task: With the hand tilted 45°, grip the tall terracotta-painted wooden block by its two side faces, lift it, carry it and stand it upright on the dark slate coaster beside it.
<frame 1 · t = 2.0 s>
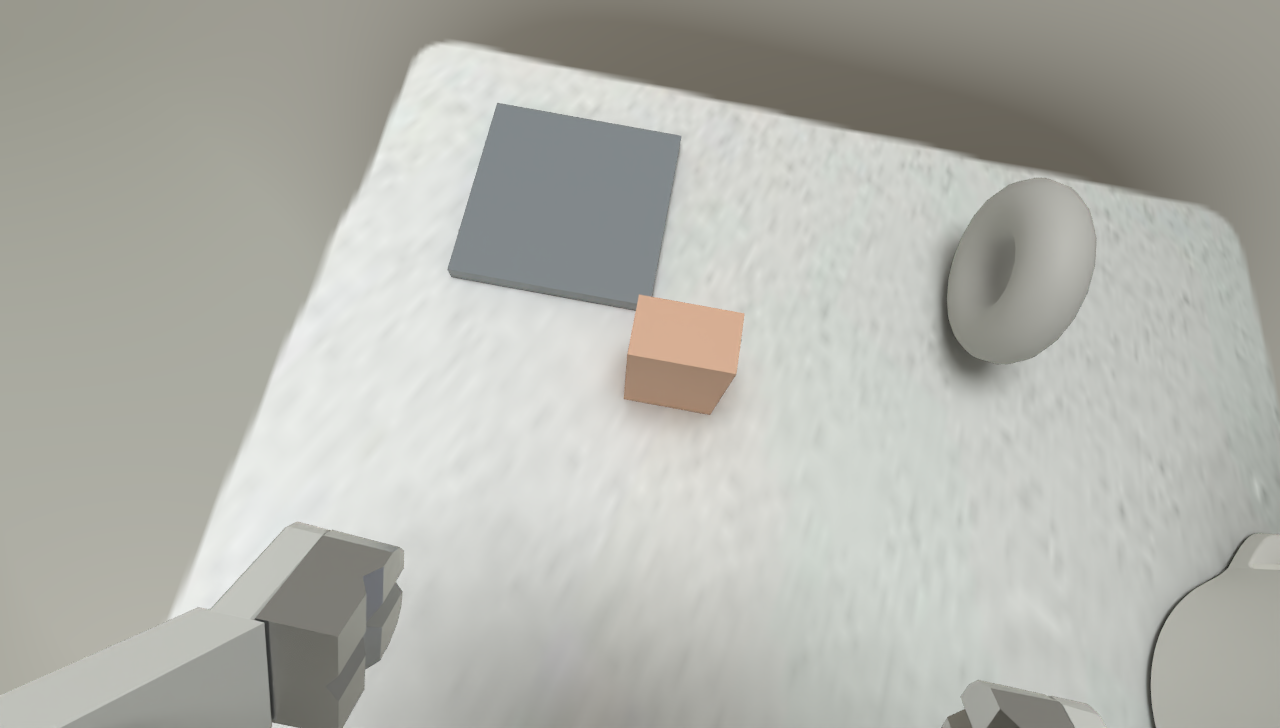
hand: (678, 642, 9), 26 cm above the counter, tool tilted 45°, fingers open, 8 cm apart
block: (670, 382, 37), on the counter
coaster: (570, 208, 40), on the counter
donut: (962, 310, 40), on the counter
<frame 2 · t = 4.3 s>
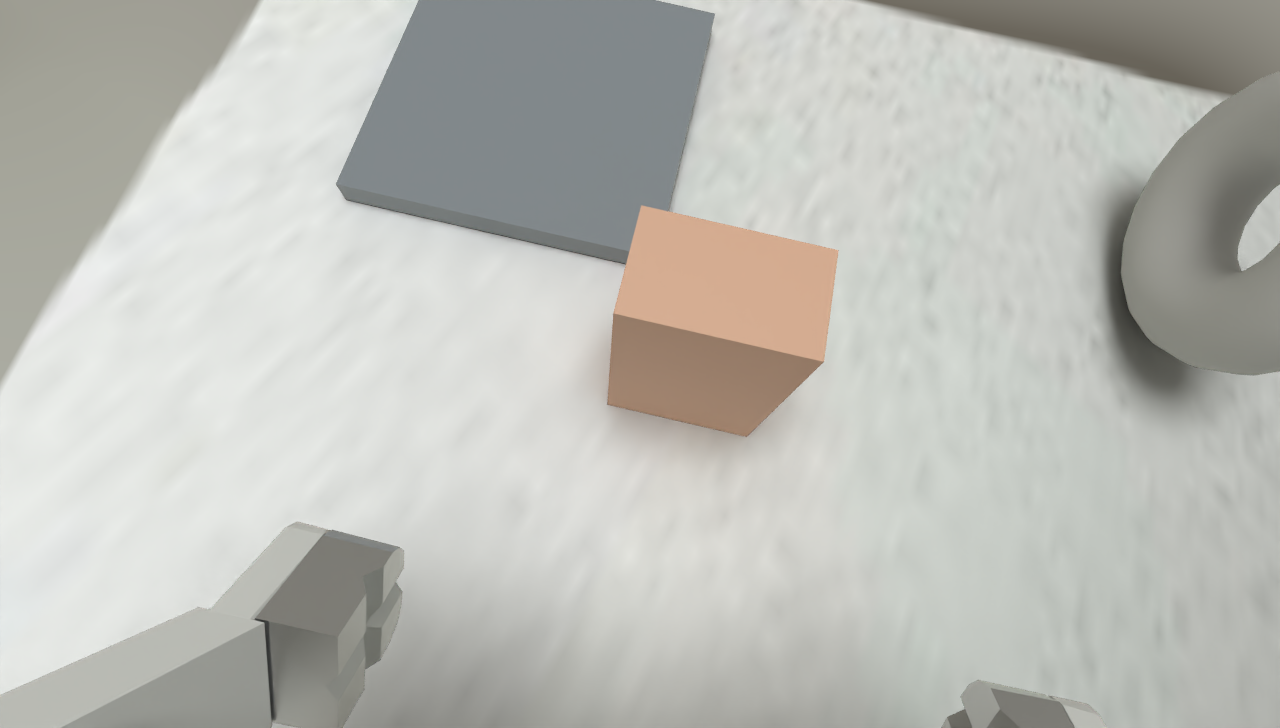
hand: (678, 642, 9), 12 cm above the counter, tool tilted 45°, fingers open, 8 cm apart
block: (685, 380, 23), on the counter
coaster: (541, 110, 26), on the counter
donut: (1138, 292, 26), on the counter
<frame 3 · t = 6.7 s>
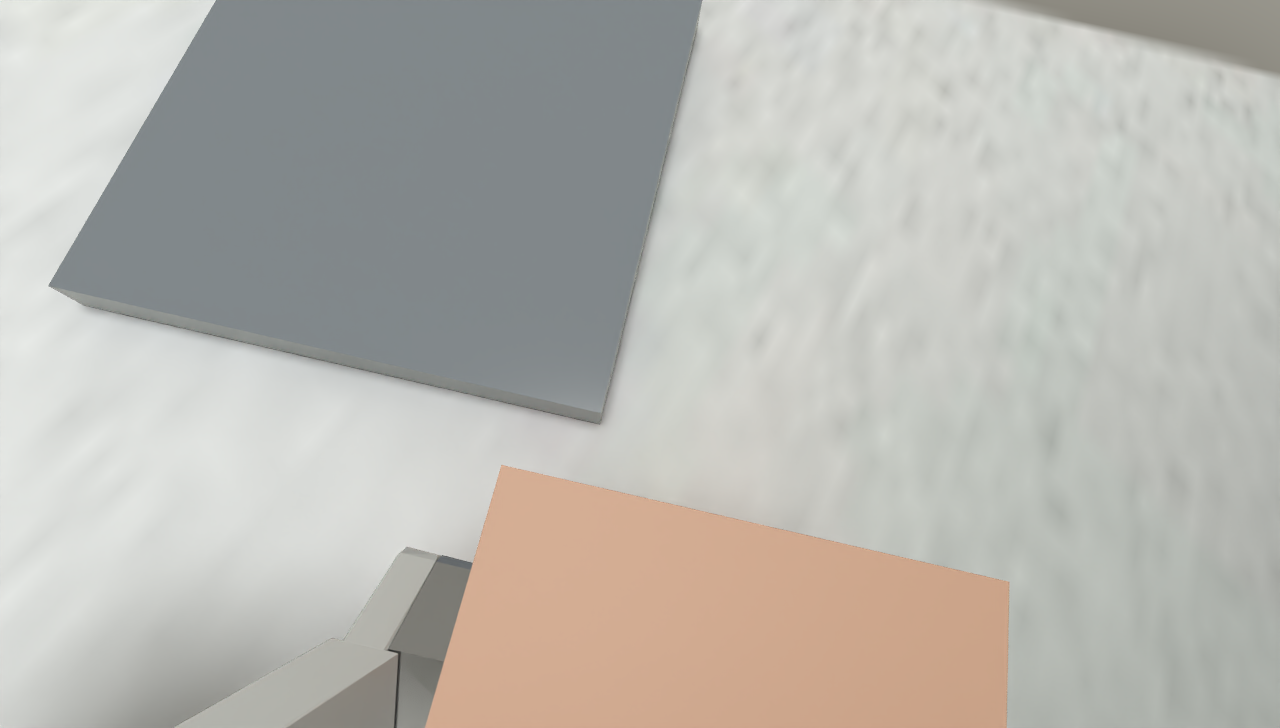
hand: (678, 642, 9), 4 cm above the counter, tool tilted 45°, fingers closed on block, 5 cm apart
block: (649, 630, 13), on the counter, touching gripper
coaster: (427, 150, 16), on the counter
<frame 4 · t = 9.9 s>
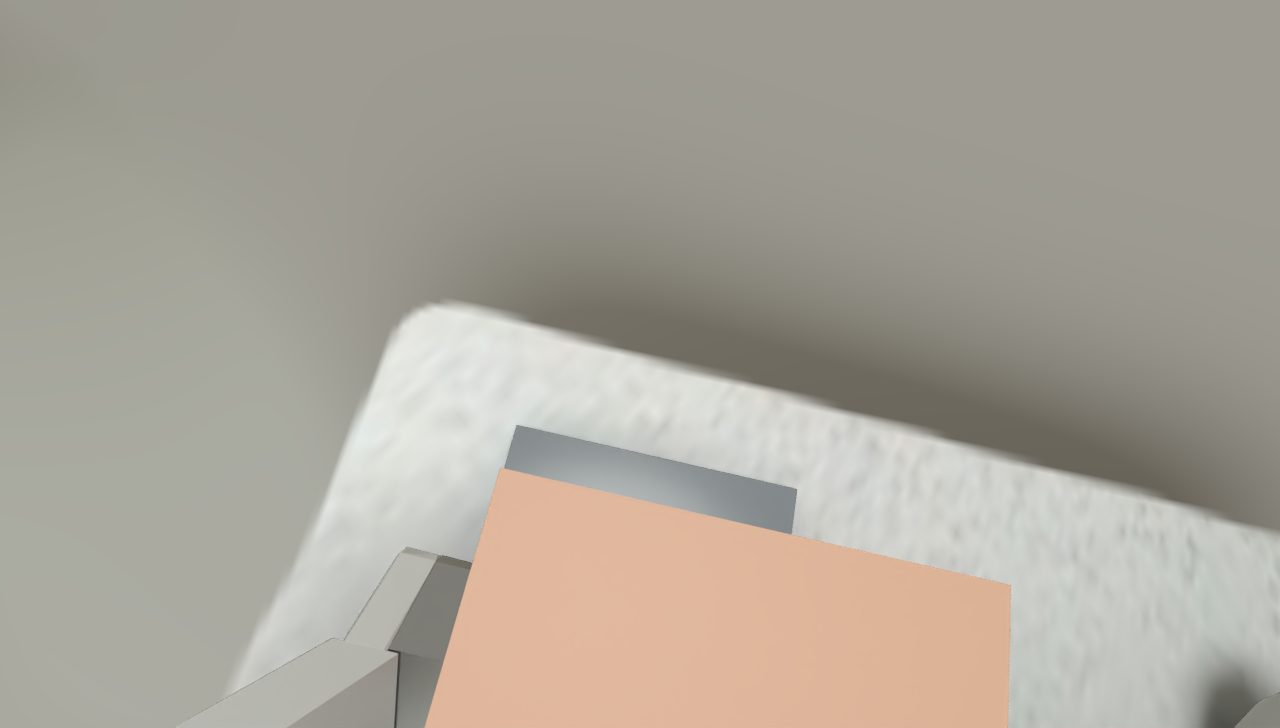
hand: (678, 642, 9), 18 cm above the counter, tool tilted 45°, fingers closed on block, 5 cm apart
block: (649, 632, 13), point 13 cm above the counter, touching gripper
coaster: (624, 606, 26), on the counter
when the fingers open (7 cm above the counter, at t = 13.2 s): block drops 1 cm, resting on coaster.
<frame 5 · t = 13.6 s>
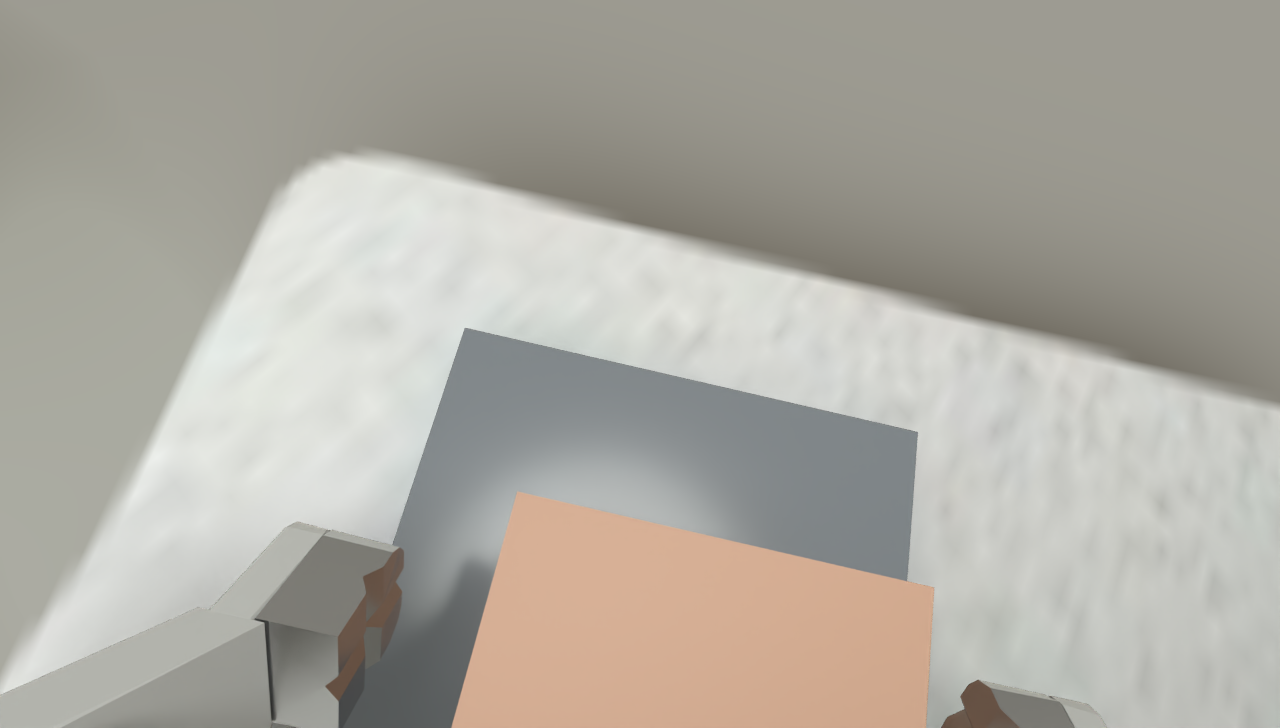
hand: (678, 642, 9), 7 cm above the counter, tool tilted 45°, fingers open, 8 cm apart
block: (643, 627, 15), point 1 cm above the counter, touching coaster
coaster: (639, 622, 16), on the counter
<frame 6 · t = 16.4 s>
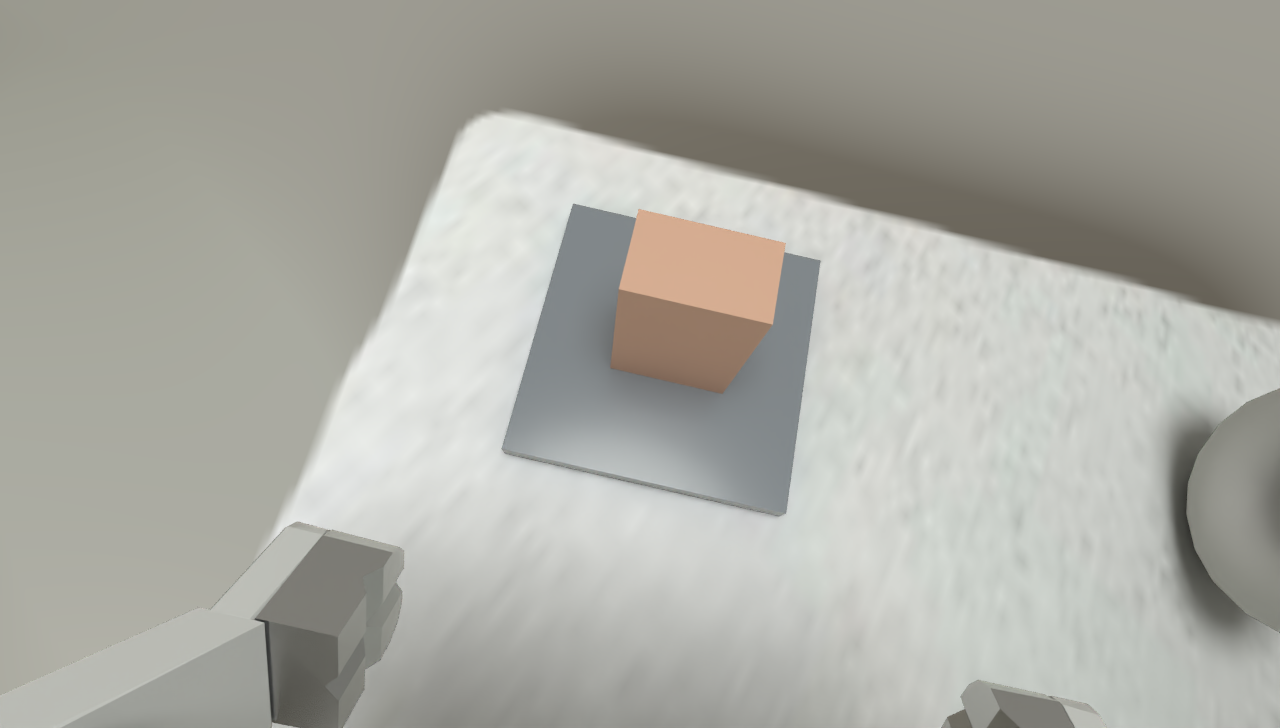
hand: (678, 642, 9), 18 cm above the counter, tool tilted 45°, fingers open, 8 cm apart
block: (673, 349, 28), point 1 cm above the counter, touching coaster
coaster: (669, 355, 29), on the counter
donut: (1199, 521, 29), on the counter
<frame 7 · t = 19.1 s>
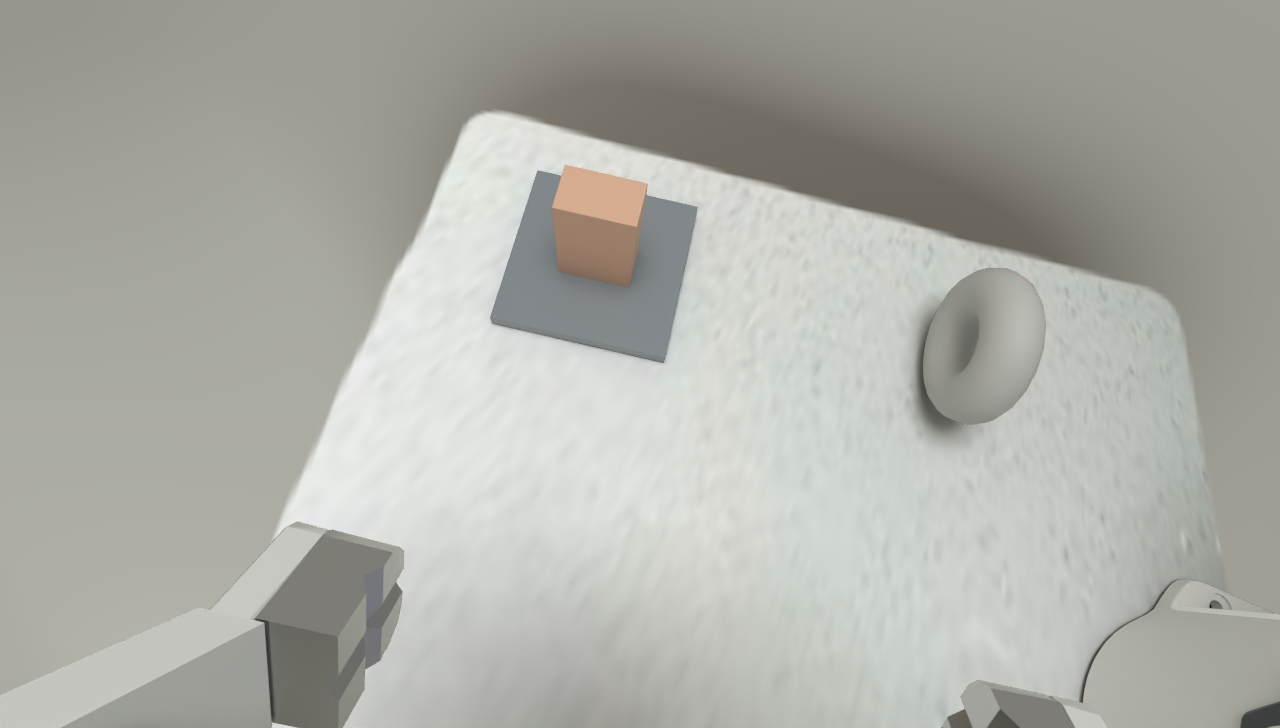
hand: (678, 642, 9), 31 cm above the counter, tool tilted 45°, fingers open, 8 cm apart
block: (598, 260, 45), point 1 cm above the counter, touching coaster
coaster: (598, 266, 46), on the counter
donut: (936, 371, 45), on the counter
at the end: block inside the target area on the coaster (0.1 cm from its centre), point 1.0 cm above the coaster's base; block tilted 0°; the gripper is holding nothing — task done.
